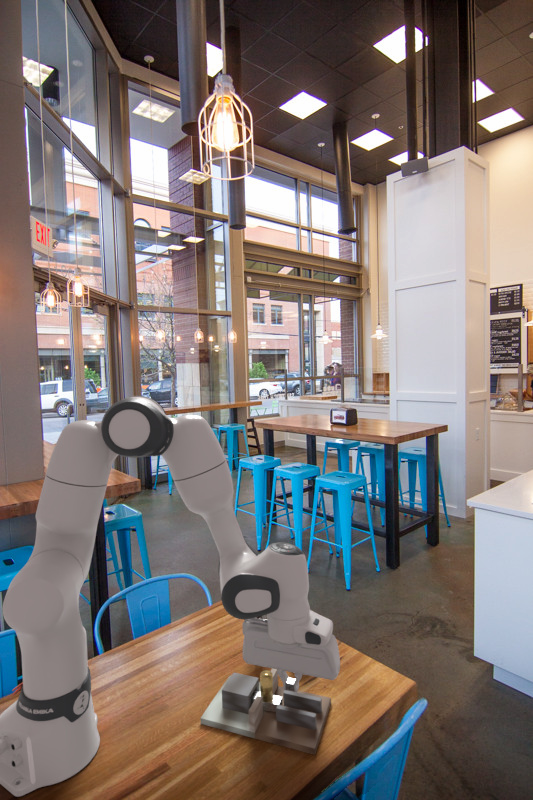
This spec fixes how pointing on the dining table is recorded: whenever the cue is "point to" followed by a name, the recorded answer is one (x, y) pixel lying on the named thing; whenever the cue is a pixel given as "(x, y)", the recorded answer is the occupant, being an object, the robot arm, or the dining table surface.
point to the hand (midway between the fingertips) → (291, 689)
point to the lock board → (269, 713)
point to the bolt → (267, 692)
